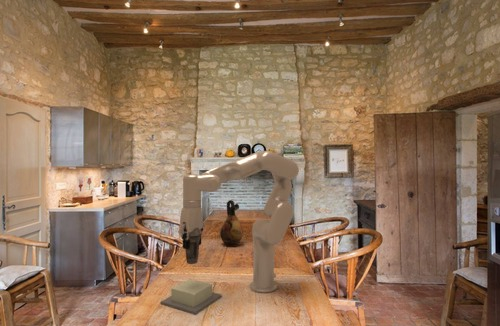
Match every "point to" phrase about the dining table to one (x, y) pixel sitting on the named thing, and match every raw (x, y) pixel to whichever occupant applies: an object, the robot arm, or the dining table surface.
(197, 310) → the plinth
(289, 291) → the dining table surface
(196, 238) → the beverage cup
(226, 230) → the ceramic jug
